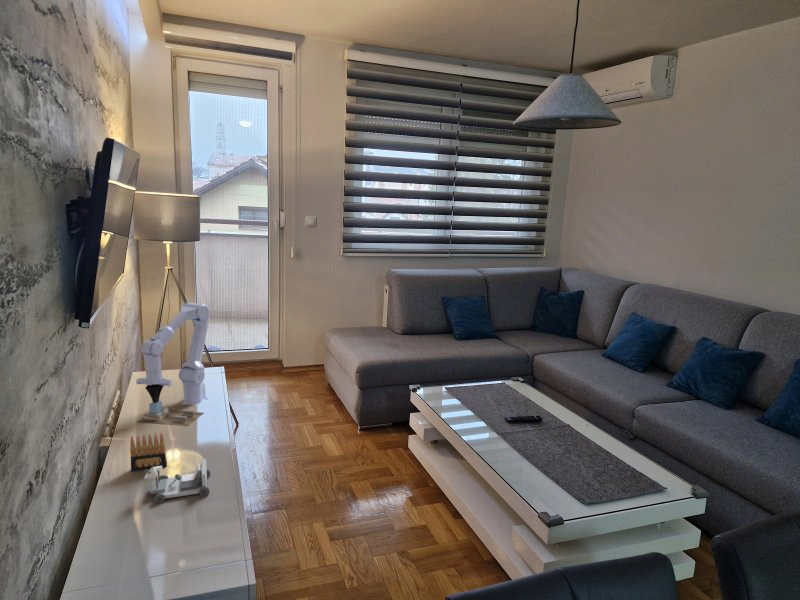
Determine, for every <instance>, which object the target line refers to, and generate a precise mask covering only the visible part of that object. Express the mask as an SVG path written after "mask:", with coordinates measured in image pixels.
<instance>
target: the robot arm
mask: <svg viewBox="0 0 800 600" xmlns="http://www.w3.org/2000/svg"><path fill="white" fill-rule="evenodd" d="M210 312H211V310H210V309H209V307H208V306H207V304H205V303H195V302H189V301H188V302H187V301H186V302H185V303H184V304H183V306H181V307H180V311H179V312H178V314H176V316H174V318H173V319H172V320H171V321H170V323H168V325H167V326H161V327H160V328H158V331H157V332H156V333H154V334H153V336H151V337H150V339H148V340H144V341H143V343H142V344H141V347H140V353H142V354H143V358H144V365H145V378H144V377H142V378H136V382H135V383H136V385H146V386H145V390H146V391H147V392H148V394H149V395H150V396H149V397H150V398H151V401H152V402H153V403H156V402H158V401H160V396H161V392H162V390H163V388H164V386H165V387H166V386H167V387H172V386H173V385H174V384H173V383H174V382H173V380H171V379H167V378H163V373H162V359H161V354H162V353H163V352H164V348H165V347H166V345H167V344H168V343H169V341H171V340H172V339H173V337H175V331H177V330H178V329H180V327H181V326H182V325H184V324H185V323H186V322H187V321H190V320H191V322H192V323H193V325H194V328H193V332H192V337H191V342H190V348H189V352H188V356H187V360H186V361H184V362H183V363H182V366H181V369H179V372H178V378H179V380H180V381H181V384H182V385H183V386H182V387H183V401H182V402H181V403H180V405H187V406H199V405H200V404H201V403H203V402H204V401H205V400H208V398H209V397H208V396H207V395H206V384H205V381H204V380H205V366H204V364H203V363H202V358H203V354H204V349H205V343H206V338H207V333H208V328H209V326H210V325H209V324H210V319H209V316H210Z"/></svg>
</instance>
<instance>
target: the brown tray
mask: <svg viewBox="0 0 800 600" xmlns="http://www.w3.org/2000/svg"><path fill="white" fill-rule="evenodd" d="M162 409H163V411H162V412H160V413H159V414H150V410H148V411H146V412H145V413H143V416H142V417H141V418H140V419H138V420H137V421H135V423H143V424H156V425H157V424H158V425H169V426H170V425H171V426H181V427H182V426H183V427H189V426H190V425H191V424H193V422H195V421H197V419H199V418H200V417H201V416H202V415H203V414H205V412H198V411H195V410H191V409H190V410H188V409H187V410H186V409H182V410H171V409H170V408H169V407H168V408H167V407H162Z"/></svg>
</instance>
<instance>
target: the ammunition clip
mask: <svg viewBox="0 0 800 600" xmlns="http://www.w3.org/2000/svg"><path fill="white" fill-rule="evenodd" d="M159 435H160V436H159V438H158V434H157V433H154V437H153V438H152V434H151V433H149V434H148V438H147V437H146V435H145V434H143V436H142V444H141V439H140V436H139V435H137V436H136V443H135V439H134V437H133V436H132V435H131V436H130V439H129V441H130V442H129V443H130V445H129V446H130V447H129V450H130V472H141V471H145V469H146V470H148V471H149V470H150V469H151V468H152V467H153V466H154V467H156V466H162V469H164V468H166V467H167V466H168V461H167V454H166V443H165V439H164V434H163V433H162V432H160V434H159ZM147 439H148V440H147ZM147 441H148V442H147ZM147 443H148V444H147Z"/></svg>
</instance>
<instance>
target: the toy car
mask: <svg viewBox="0 0 800 600" xmlns="http://www.w3.org/2000/svg"><path fill="white" fill-rule="evenodd" d="M201 463H202V464H200V463H198V465H197V467H196V468H195V471H194V473H187V474H182V475H180V474H179V473H176V474H175V475H174V477H168V475H166V474H163V475H160V471H162V470H163V468H162V466H156V467H154V466H153V467H152V468H151V469H149V470H146V469H145V470H144V471H145V472H146V474H145V476H144V477H143V478H144V479H145V480H152V483H151V485H150V491H149V492H150V495H153V494H154V498H153V501H154V503H156V504H157V503H158V504H159V503H164V502H165V500H166V499H171V498H177V497H184V496H190V495H197V494H199V496H200V497H204V496H208V495H210V488H209V487H208V485H207V483H208V478H210V476H211V471H210V469H207V459H206V458H203V459H202V462H201Z"/></svg>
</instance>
